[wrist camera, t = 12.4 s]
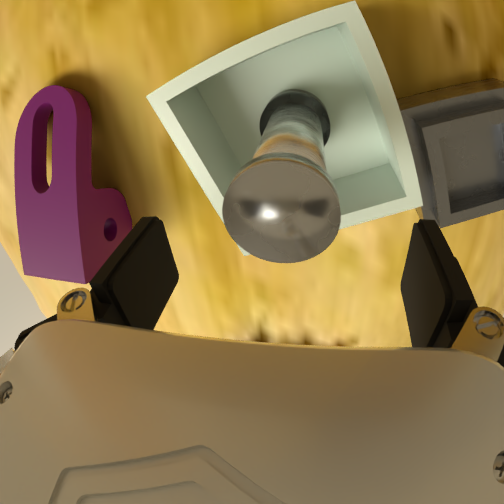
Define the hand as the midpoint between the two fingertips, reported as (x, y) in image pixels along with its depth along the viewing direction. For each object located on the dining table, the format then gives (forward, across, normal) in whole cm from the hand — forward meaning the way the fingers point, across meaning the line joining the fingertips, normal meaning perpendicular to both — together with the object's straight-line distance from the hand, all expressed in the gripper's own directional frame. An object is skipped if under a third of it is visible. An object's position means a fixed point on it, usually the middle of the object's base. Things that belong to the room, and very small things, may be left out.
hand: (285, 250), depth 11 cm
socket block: (+15, -13, 0) cm, 20 cm away
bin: (+14, 0, -2) cm, 15 cm away
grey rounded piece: (+14, 0, -2) cm, 14 cm away
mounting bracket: (+15, +22, 0) cm, 27 cm away
